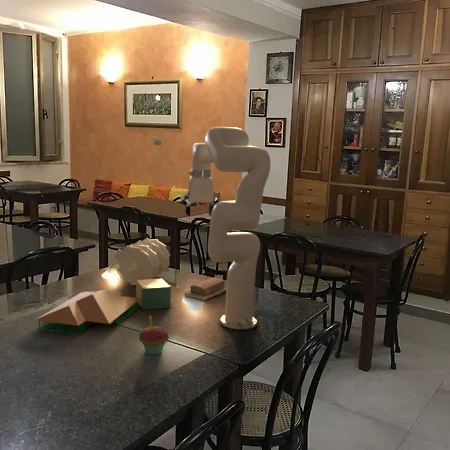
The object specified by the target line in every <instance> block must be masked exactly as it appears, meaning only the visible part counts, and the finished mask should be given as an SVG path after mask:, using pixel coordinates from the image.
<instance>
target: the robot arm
mask: <svg viewBox="0 0 450 450" xmlns="http://www.w3.org/2000/svg"><path fill="white" fill-rule="evenodd" d="M204 139H205V140H204V142H195V143H194V144H193V145H192V159H191V161H192V162H191V163H192V164H191V170H188V175H191V176H190V177H189V181H188V187H187V191H185V192H183V193H181V194H180V195H179V199H180V201H181V203H182V204H183V205H184V206H185V212H184V213H185V215H186V216H187V217H191V206H190V205H192V203H209V206H208V216H210V222H209V232H208V239H207V254H208V257H209V259H210V260H211V261H212V262H215V263H229V262H230V263H231V262H232V263H231V264H230V266H229V268H228V270H227V274H226V291H225V307H224V309H225V311H224V313H225V314H224V315H222V316H221V317H220V321H219V322H220V325H222V326H223V327H226V328H228V329H231V330H240V331H241V330H250V329H253V328H255V327H256V326H257V325H258V320H257V319H256V318H255V317H254V305H255V302H254V301H255V290H256V289H255V288H256V271H257V264H258V260H259V256H260V250H261V240H260V239H259V237H258V236H257V235H256V234H254V233H252V232H247V231H250V230H255V229H256V228H257V227H258V225H259V222H260V217H261V211H262V205H263V204H262V203H263V195H264V190H265V187H266V183H267V181H268V178H269V175H270V172H271V157H270V154H269V152H268V151H267V150H266V149H264V148H263V147H260V146H253V145H249V142H250V141H249V140H250V139H249V134H247V132H246V131H245V130H244V129H242V128H239V127H230V126H213V127H211V128H210V129H208V130H207V132H206V134H205V138H204ZM212 164H214V166H215V167H216V169H217V170H219V171H220V172H225V173H246V175H245V176H243V178H242V179H241V180H240V182H239V183H238V185H237V187H236V192H235V193H236V194H235V199H234V200H221V201H220V199H221V197H222V196H221V195H220V194H219V193H217V192H215V190H214V180H213V177H211V172H212ZM185 197H187V200H185V199H186V198H185ZM230 231H233V232H230ZM234 231H236V232H234ZM238 231H239V232H238ZM241 231H242V232H241Z"/></svg>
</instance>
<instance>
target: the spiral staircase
mask: <svg viewBox="0 0 450 450" xmlns="http://www.w3.org/2000/svg"><path fill="white" fill-rule="evenodd" d="M170 257H171V254H170V252H169V250H168V249H167V245H166V244H165V243H162V242H161V241H159V239H158V238H157V239H156V238H155V239H151V238H150V239H149V237H146V238H144V239H143V240H141V239H139V240H138V241H136V242H135V243H134V244H130V245H126V247H124V248H122V249H120V248H118V250H117V251H116V254H115V256H114V259H116V260H117V262H118V266H119V267H118V269H117V271H118V272H119V273H120V275H121V276H122V281H125V282H128V283H130V286H136V280H146V279H156V278H157V277H158V276H160V275H162V273H164V271H168V269H169V267H170V265H171V263H170Z"/></svg>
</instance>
